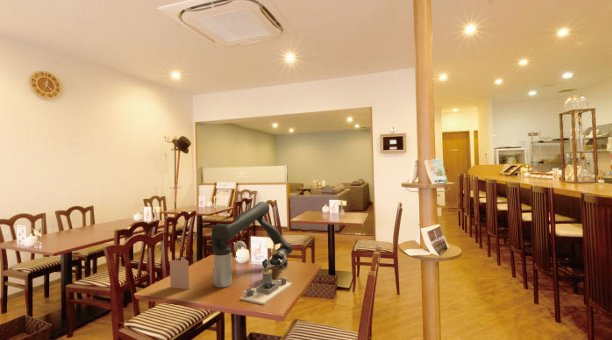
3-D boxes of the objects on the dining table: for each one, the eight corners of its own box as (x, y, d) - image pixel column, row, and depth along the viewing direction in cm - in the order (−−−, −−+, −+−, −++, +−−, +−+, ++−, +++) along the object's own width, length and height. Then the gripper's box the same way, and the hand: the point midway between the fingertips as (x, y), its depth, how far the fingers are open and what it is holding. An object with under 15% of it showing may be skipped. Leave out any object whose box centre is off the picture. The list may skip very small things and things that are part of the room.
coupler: (261, 290, 153) (260, 271, 153) (266, 287, 158) (266, 268, 158) (268, 292, 151) (268, 272, 151) (274, 288, 155) (273, 269, 155)
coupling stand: (240, 299, 146) (240, 291, 146) (270, 280, 169) (270, 274, 169) (263, 304, 140) (263, 297, 140) (292, 284, 163) (291, 278, 163)
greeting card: (190, 288, 161) (190, 260, 161) (176, 292, 156) (175, 263, 156) (183, 282, 170) (182, 256, 169) (169, 286, 165) (168, 259, 165)
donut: (233, 254, 224) (232, 241, 224) (235, 253, 227) (235, 240, 227) (244, 255, 220) (244, 241, 220) (247, 254, 224) (247, 240, 224)
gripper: (267, 251, 182) (259, 260, 166) (290, 252, 180) (284, 260, 164) (267, 264, 182) (259, 273, 166) (290, 264, 180) (285, 274, 164)
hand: (272, 267), depth 165 cm, fingers open, 8 cm apart
